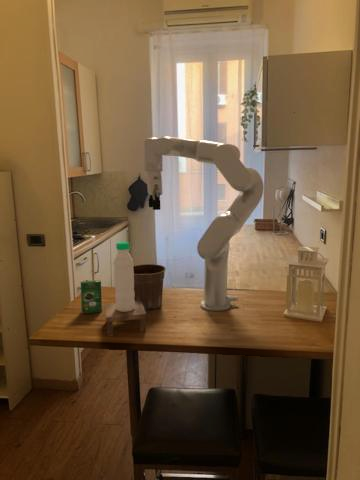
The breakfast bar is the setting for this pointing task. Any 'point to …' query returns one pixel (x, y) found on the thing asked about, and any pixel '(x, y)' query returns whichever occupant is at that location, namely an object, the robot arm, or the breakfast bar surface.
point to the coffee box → (91, 296)
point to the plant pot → (149, 285)
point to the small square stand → (125, 315)
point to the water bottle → (124, 278)
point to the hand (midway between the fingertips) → (154, 208)
